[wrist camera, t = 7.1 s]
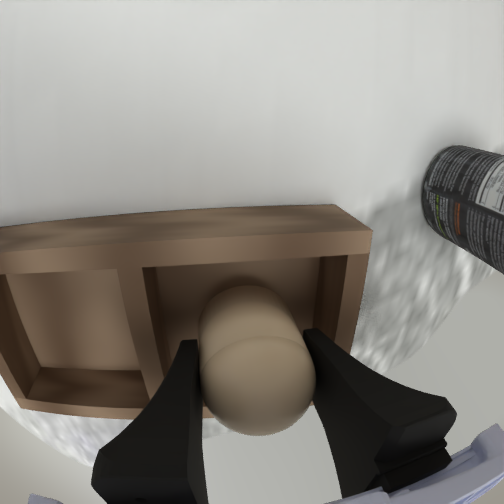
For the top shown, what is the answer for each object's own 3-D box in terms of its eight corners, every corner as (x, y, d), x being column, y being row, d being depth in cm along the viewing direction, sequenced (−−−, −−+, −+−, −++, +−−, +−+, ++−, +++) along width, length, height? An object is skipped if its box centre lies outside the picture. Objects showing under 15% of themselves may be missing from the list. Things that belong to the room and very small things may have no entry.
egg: (202, 364, 15) (208, 461, 10) (193, 288, 13) (194, 388, 8) (287, 356, 16) (321, 445, 11) (293, 281, 14) (343, 370, 9)
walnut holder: (39, 367, 17) (20, 408, 13) (-9, 228, 13) (-48, 256, 9) (316, 356, 20) (337, 400, 16) (334, 204, 16) (372, 230, 12)
